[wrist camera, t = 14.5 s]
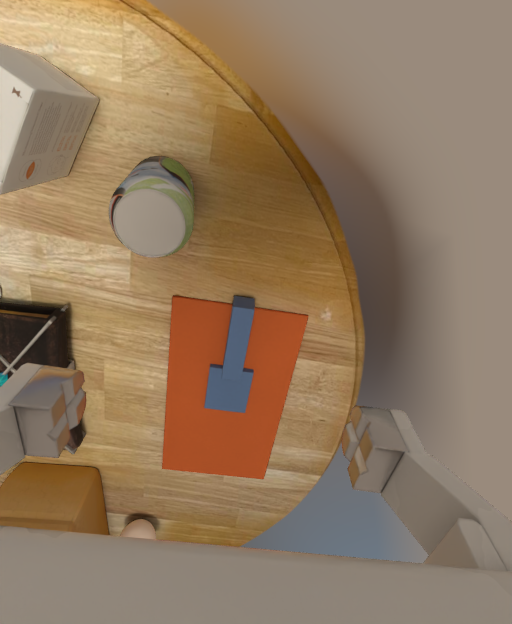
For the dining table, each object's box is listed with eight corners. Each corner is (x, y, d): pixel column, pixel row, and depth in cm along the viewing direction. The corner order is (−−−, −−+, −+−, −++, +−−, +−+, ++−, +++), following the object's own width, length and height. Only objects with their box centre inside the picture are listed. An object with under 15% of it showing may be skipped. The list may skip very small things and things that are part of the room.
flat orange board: (173, 295, 39) (172, 296, 39) (308, 315, 41) (308, 316, 40) (162, 466, 53) (162, 468, 53) (263, 477, 55) (263, 479, 54)
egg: (162, 531, 62) (151, 580, 55) (128, 531, 61) (113, 580, 55) (157, 510, 59) (145, 559, 52) (122, 511, 59) (105, 560, 52)
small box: (40, 54, 29) (-62, 18, 19) (102, 99, 30) (35, 87, 21) (10, 140, 32) (-90, 145, 22) (68, 177, 33) (-3, 197, 24)
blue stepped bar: (220, 293, 39) (217, 304, 36) (268, 300, 39) (269, 312, 37) (204, 404, 47) (202, 419, 44) (245, 409, 47) (244, 424, 45)
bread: (15, 460, 52) (-65, 572, 39) (101, 466, 53) (50, 578, 40) (43, 548, 64) (-12, 657, 51) (113, 552, 65) (77, 661, 51)
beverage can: (139, 146, 32) (84, 154, 21) (215, 171, 33) (198, 191, 23) (130, 211, 35) (77, 246, 24) (200, 232, 36) (179, 275, 25)
